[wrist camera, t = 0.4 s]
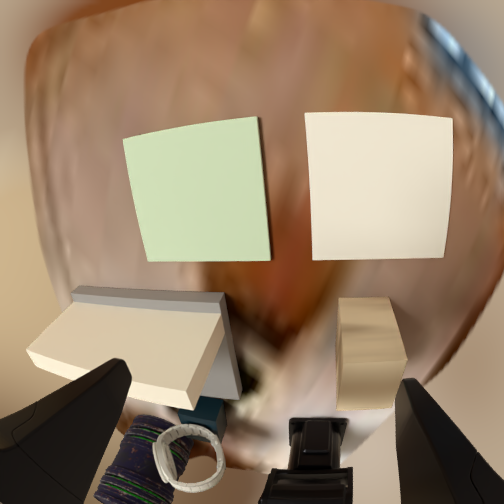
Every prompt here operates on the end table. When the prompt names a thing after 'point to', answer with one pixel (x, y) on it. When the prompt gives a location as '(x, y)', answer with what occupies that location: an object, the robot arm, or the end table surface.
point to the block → (367, 354)
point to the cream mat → (379, 184)
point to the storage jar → (142, 465)
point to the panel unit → (146, 342)
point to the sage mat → (200, 192)
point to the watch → (195, 427)
